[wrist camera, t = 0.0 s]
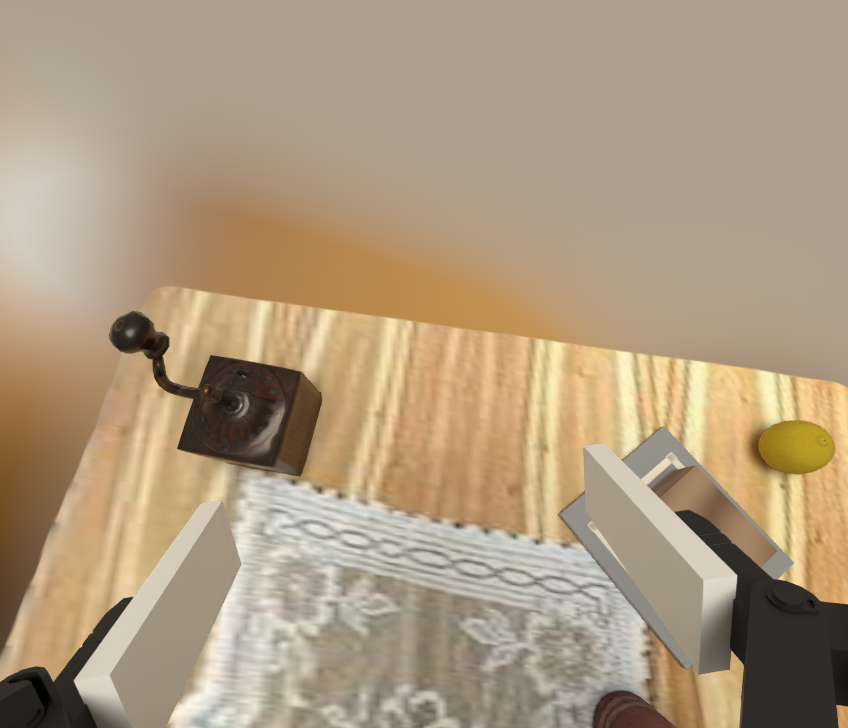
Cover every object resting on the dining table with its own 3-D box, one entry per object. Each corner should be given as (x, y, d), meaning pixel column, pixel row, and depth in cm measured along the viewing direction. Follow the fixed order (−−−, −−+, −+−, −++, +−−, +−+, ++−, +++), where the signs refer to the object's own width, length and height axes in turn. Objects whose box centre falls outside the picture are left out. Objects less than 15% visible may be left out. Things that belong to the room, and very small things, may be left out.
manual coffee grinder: (326, 388, 56) (277, 328, 39) (301, 478, 52) (237, 456, 35) (207, 367, 57) (110, 301, 40) (176, 454, 53) (54, 421, 36)
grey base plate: (786, 562, 48) (794, 562, 47) (681, 666, 45) (687, 670, 44) (659, 428, 53) (664, 426, 52) (558, 514, 50) (560, 514, 49)
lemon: (748, 477, 51) (802, 468, 43) (738, 428, 53) (788, 412, 45) (799, 478, 51) (862, 470, 43) (786, 429, 52) (845, 413, 45)
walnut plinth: (743, 548, 47) (777, 550, 43) (677, 612, 46) (705, 622, 41) (672, 470, 50) (696, 465, 45) (606, 528, 48) (625, 528, 44)
